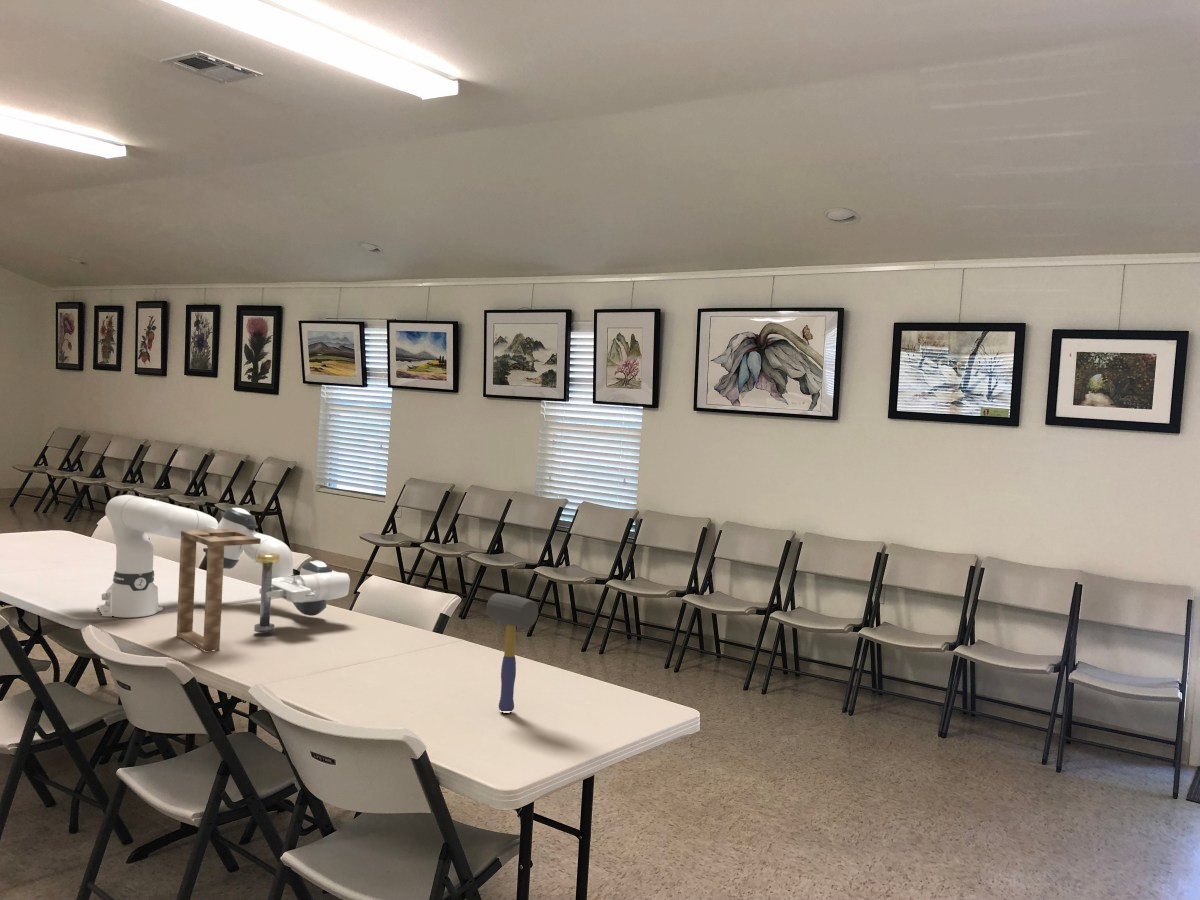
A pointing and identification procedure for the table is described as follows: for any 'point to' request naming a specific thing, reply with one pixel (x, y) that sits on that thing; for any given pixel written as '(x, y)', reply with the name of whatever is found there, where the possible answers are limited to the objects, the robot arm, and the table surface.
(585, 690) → the table surface
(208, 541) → the keyhole rack
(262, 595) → the hanger bolt
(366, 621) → the table surface
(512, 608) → the rubber mallet
